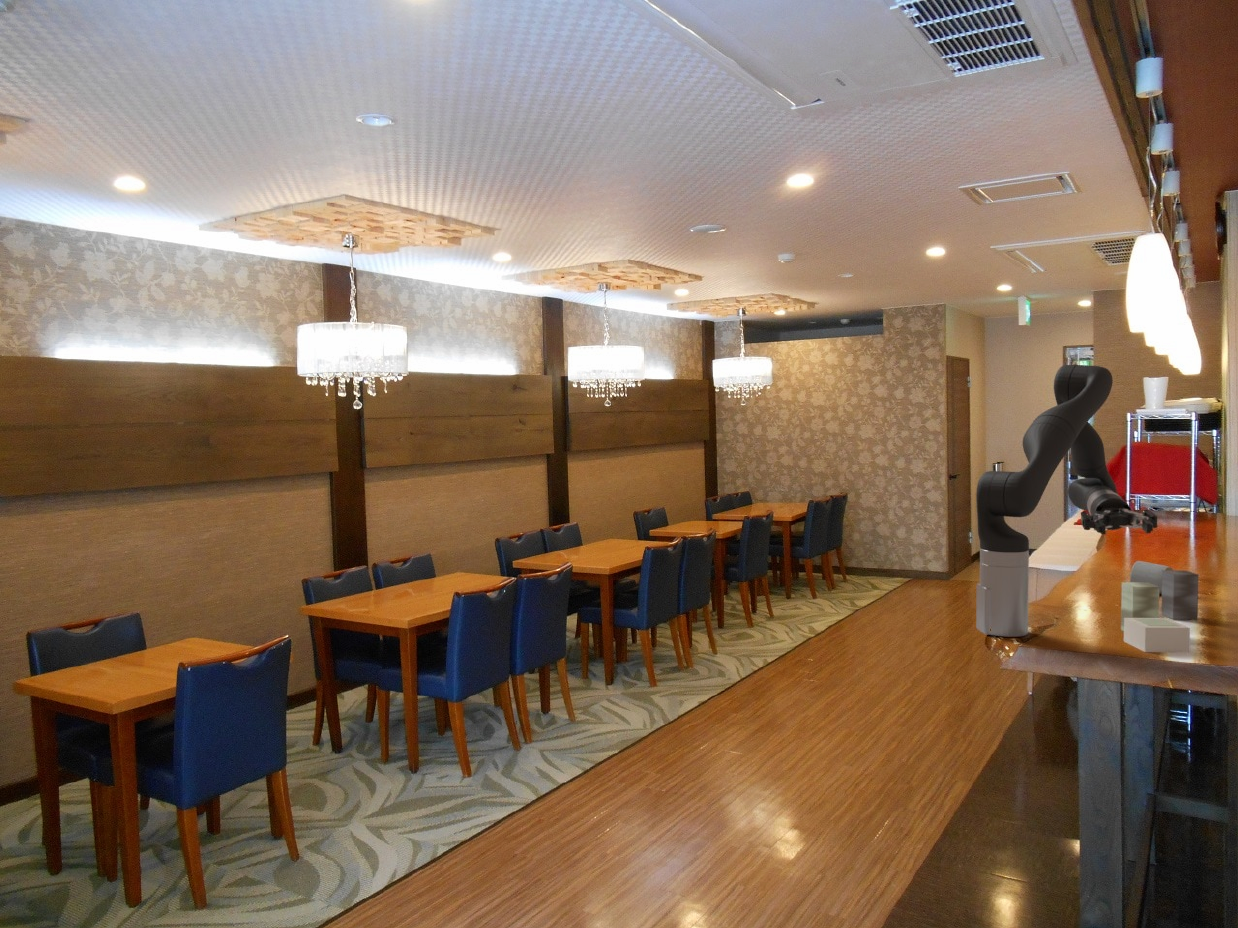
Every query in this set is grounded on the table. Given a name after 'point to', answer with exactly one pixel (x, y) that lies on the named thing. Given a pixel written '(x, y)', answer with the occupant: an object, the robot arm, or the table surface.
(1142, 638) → the cream base block
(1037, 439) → the robot arm
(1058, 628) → the table surface
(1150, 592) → the sage pillar
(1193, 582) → the slate pillar
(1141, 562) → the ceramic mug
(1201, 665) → the table surface
